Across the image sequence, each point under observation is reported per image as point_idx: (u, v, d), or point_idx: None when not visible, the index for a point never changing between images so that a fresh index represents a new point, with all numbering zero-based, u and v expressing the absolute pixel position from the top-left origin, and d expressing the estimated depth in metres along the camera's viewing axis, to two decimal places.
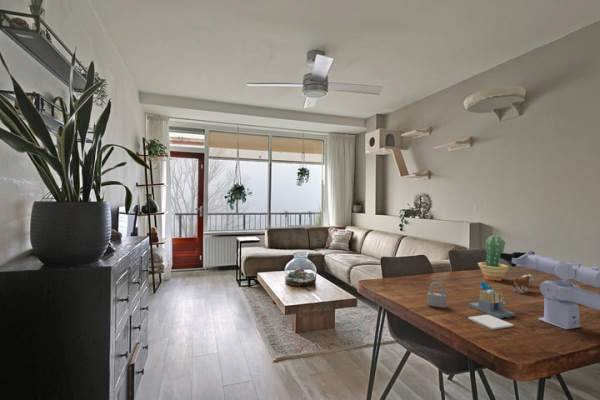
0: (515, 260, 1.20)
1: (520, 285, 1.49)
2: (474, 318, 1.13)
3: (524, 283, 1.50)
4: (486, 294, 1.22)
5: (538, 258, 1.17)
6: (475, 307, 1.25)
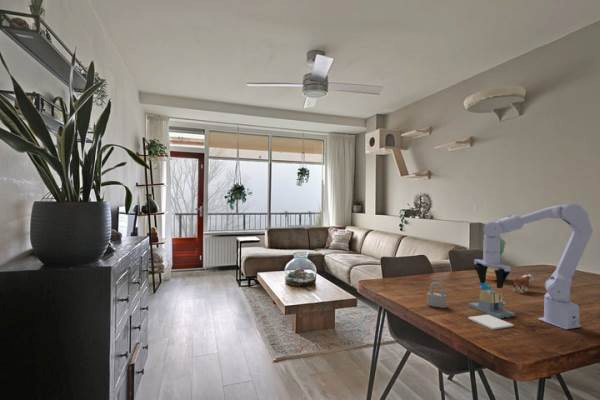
0: (507, 267, 1.16)
1: (520, 285, 1.49)
2: (474, 318, 1.13)
3: (524, 283, 1.50)
4: (486, 294, 1.22)
5: (491, 252, 1.21)
6: (475, 307, 1.25)
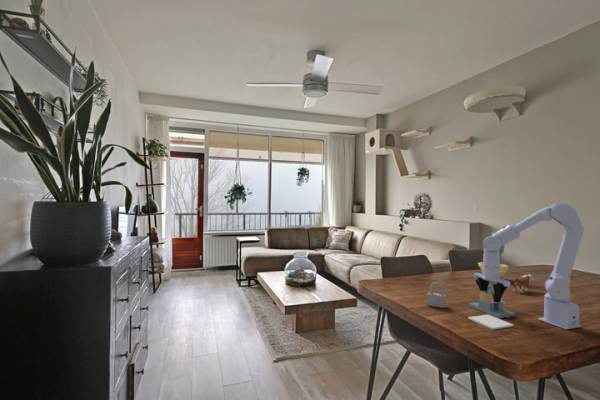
0: (507, 282, 1.16)
1: (520, 285, 1.49)
2: (474, 318, 1.13)
3: (524, 283, 1.50)
4: (486, 294, 1.22)
5: (491, 267, 1.21)
6: (475, 307, 1.25)
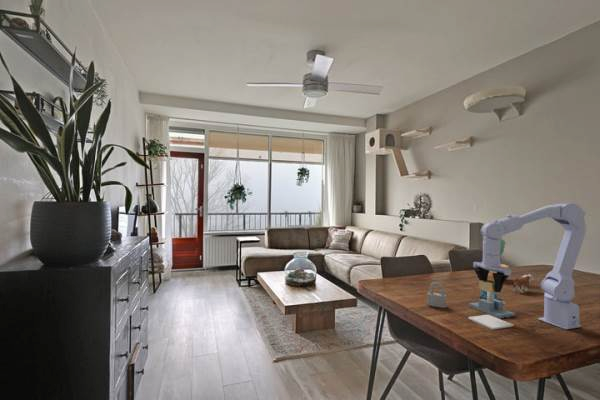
0: (508, 271, 1.10)
1: (520, 285, 1.49)
2: (474, 318, 1.13)
3: (524, 283, 1.50)
4: (486, 284, 1.16)
5: (491, 255, 1.15)
6: (475, 307, 1.25)
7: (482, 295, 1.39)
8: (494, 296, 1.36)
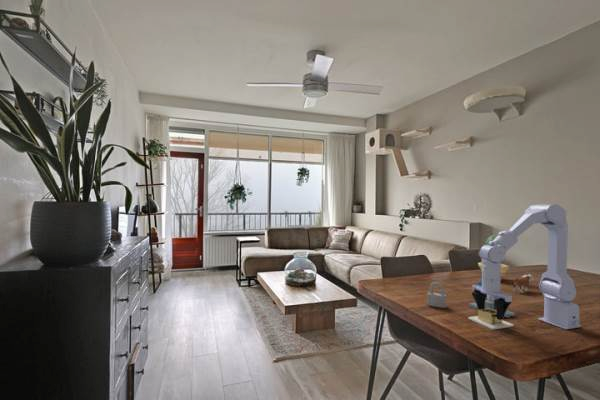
0: (509, 297, 1.04)
1: (520, 285, 1.49)
2: (474, 318, 1.13)
3: (524, 283, 1.50)
4: (485, 314, 1.10)
5: (491, 279, 1.09)
6: (475, 307, 1.25)
7: None
8: None
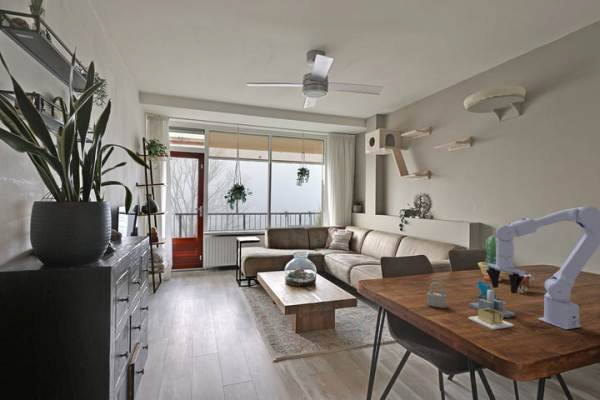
0: (522, 272, 1.13)
1: (520, 285, 1.49)
2: (474, 318, 1.13)
3: (524, 283, 1.50)
4: (485, 314, 1.10)
5: (505, 256, 1.18)
6: (475, 307, 1.25)
7: (481, 294, 1.40)
8: None
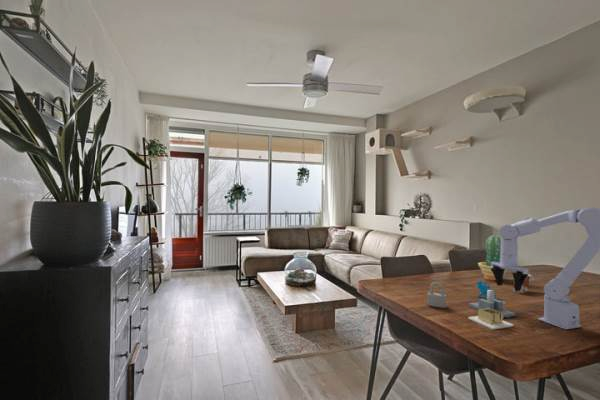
0: (526, 270, 1.17)
1: None
2: (474, 318, 1.13)
3: (524, 283, 1.50)
4: (485, 314, 1.10)
5: (509, 255, 1.21)
6: (475, 307, 1.25)
7: (480, 294, 1.40)
8: None
